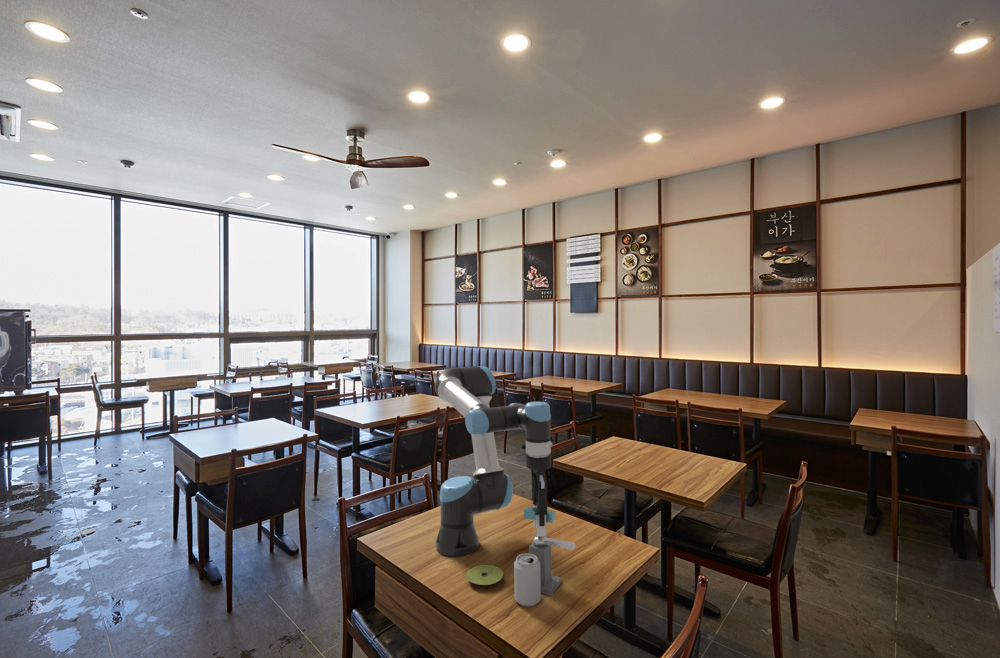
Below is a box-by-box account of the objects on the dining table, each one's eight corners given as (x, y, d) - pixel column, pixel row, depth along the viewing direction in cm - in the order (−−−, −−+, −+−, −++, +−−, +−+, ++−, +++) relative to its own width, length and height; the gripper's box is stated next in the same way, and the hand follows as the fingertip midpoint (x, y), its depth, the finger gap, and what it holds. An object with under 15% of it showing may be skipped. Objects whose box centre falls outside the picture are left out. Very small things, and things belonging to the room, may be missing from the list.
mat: (508, 587, 134) (507, 580, 134) (471, 594, 131) (471, 587, 131) (497, 567, 145) (497, 561, 145) (463, 574, 142) (463, 567, 142)
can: (539, 609, 123) (538, 566, 123) (512, 606, 125) (511, 563, 125) (542, 593, 130) (541, 552, 130) (516, 591, 132) (516, 550, 132)
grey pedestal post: (519, 586, 134) (519, 546, 134) (531, 573, 141) (530, 535, 141) (550, 595, 129) (550, 554, 129) (561, 581, 136) (560, 542, 136)
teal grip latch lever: (572, 553, 129) (571, 518, 129) (523, 543, 135) (523, 510, 135) (575, 547, 133) (575, 513, 133) (528, 537, 139) (528, 505, 139)
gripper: (557, 462, 127) (558, 545, 127) (545, 445, 145) (546, 517, 145) (530, 463, 126) (532, 546, 126) (521, 446, 144) (523, 519, 144)
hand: (539, 531), depth 135 cm, fingers closed on teal grip latch lever, 5 cm apart
